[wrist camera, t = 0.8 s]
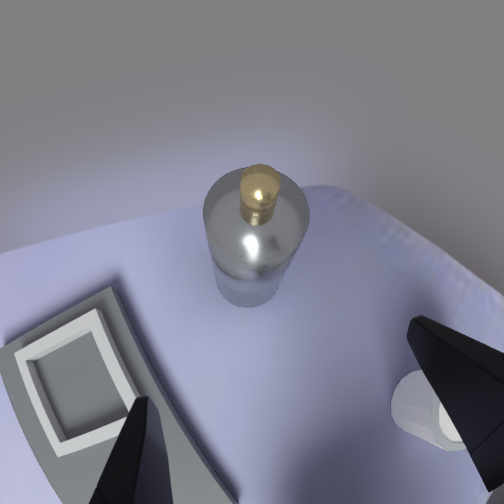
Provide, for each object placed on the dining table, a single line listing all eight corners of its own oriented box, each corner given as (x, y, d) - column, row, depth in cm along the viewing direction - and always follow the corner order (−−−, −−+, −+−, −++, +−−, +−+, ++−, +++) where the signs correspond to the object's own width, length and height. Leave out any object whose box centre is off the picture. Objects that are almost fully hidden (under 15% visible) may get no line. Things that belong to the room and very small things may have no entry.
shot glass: (392, 451, 20) (438, 469, 13) (375, 380, 22) (421, 381, 16) (452, 416, 21) (503, 421, 14) (437, 351, 23) (489, 341, 17)
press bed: (238, 504, 18) (239, 518, 16) (103, 543, 15) (93, 556, 13) (117, 290, 24) (104, 281, 21) (3, 353, 21) (-14, 350, 18)
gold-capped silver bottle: (290, 288, 25) (346, 204, 12) (235, 319, 24) (235, 261, 11) (258, 237, 26) (279, 121, 13) (204, 264, 25) (178, 161, 12)
